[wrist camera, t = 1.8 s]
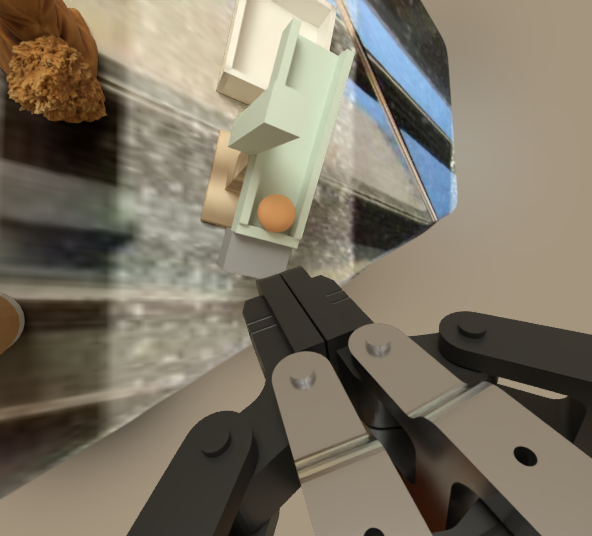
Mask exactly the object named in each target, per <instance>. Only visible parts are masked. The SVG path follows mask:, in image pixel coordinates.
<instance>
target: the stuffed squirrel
mask: <svg viewBox="0 0 592 536" xmlns="http://www.w3.org/2000/svg"><path fill="white" fill-rule="evenodd" d="M0 67H1V68H2V70H3V71H4V72H5V73H6V74H7V81H8V82H9V89H10V91H9V92H8V94H9V95H10V97H9V99H10V98H11V99H13V100H15V102H19V103H20V104H21V105H22V106H21V108H20V109H19V110H20V111H22V110H24V109H26V108H27V111H31V114H33V112H34V114H40V113H44V114H43V115H44V117H46V118H47V119H48V120H51V121H60V120H64V121H66V122H68V123H69V122H70V123H80V122H82V121H87V122H91V121H94V120H98V119H100V118H101V117H104V116H105V115H106V116H107V114H106V113H105V109H106V108H105V105H104V102H105V96H104V94H103V90H101V85H100V83H99V82H98V80H97V79H96V77H97V68H98V51H97V46H96V42H95V40H94V39H93V38H92V36H91V34H90V31H89V29H88V27H87V24H86V22H85V21H84V19H83V17H82V16H81V14H80V12H79V11H78V10H76V9H75V8H72V9H71V8H67V6H66V5H65V3H64V2H63V0H0Z"/></svg>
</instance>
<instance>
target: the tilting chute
mask: <svg viewBox="0 0 592 536" xmlns="http://www.w3.org/2000/svg"><path fill="white" fill-rule="evenodd" d="M301 23H302V22H300V21H298V20H297V19H295V18H293V19H292V20H291V21H290V23H289V24H288V25H287V27H286V28H285V29H284V31H283V32H282V36H281V40H280V44H279V48H278V51H277V55H276V59H275V63H274V67H273V70H272V74H271V78H270V82H269V86H268V88H267V89H266V90H265V91H264V92H263V93H262V94H261V95H260V96H259V97H258V98H257V99H256V100H255V101H254V102H253V103H252V104H251V105H249V106H248V107H247V108H246V109H245V110H244V111H243V112H242V113H241V114H240V115H239V116H238V117H237V118H236V119H235V120H234V124H233V127H232V131H231V135H230V139H229V143H228V147H230V148H232V149H235V150H238V151H241V152H243V153H246V154H249V155H250V158H249V162H248V166H247V170H246V174H245V178H244V181H243V185H242V189H241V193H240V197H239V200H238V204H237V208H236V212H235V216H234V220H233V223H232V227H231V228H227V227H226V231H225V235H224V239H223V242H222V246H221V250H220V254H219V258H218V262H217V264H218V265H219V267H220V268H221V269H222V271H226V272H231V273H236V274H241V275H245V276H250V277H255V278H260V279H263V278H266V277H269V276H272V275H275V274H279V273H281V272H284V271H286V268H287V264H288V260H289V257H290V253H291V250H292V247H293V248H296V249H297V247H298V243H299V240H300V239H302V235H303V232H304V228H305V225H306V221H307V218H308V214H309V211H310V207H311V204H312V200H313V197H314V193H315V190H316V187H317V183H318V180H319V176H320V173H321V169H322V166H323V162H324V159H325V155H326V152H327V148H328V145H329V141H330V138H331V134H332V131H333V127H334V124H335V120H336V117H337V113H338V110H339V106H340V103H341V99H342V96H343V92H344V89H345V85H346V82H347V78H348V75H349V71H350V68H351V65H352V61H353V58H354V54H355V53H354V52H352V51H351V50H349V49H347V50H346V51H344V52H343V53H342V54H340V55H339V56H337V55H336V54H334V53H332V52H330V51H328V50H327V49H325V48H323V47H321V46H319V45H318V44H316V43H314V42H312V41H310V40H309V39H307V38H305V37H303V36H301V35H300V34H299V30H300V27H301ZM272 194H281V195H284V196H286V197H287V198H289V199H290V200H291V202H292V203H293V205H294V207H295V213H296V214H295V220H294V222H293V224H292V225H291V226H290V227H289V228H288V229H287V230H285V231H283V232H278V233H275V232H270V231H268V230H266V229H265V228H264V227H263V226H262V225H261V224H260V222H259V220H258V215H257V211H258V207H259V204H260V203H261V201H262V200H263V199H264V198H265V197H267V196H269V195H272Z"/></svg>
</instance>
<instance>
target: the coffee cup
mask: <svg viewBox="0 0 592 536" xmlns="http://www.w3.org/2000/svg"><path fill="white" fill-rule="evenodd" d="M24 323H25V320H24V313H23V311H22V309H21V307H20V305H19V304H18V303H17V302H16V301H15V300H14V299H13V298H11V297H9V296H8V295H6V294H3V293H0V354H2V353H3V352H4V351H5V350H6V349H7V348H9V347H10V346H12V345H13V344H14V343H15V342H16V340H17V339H18V338H19V337H20V335H21V333H22V331H23V328H24Z"/></svg>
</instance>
